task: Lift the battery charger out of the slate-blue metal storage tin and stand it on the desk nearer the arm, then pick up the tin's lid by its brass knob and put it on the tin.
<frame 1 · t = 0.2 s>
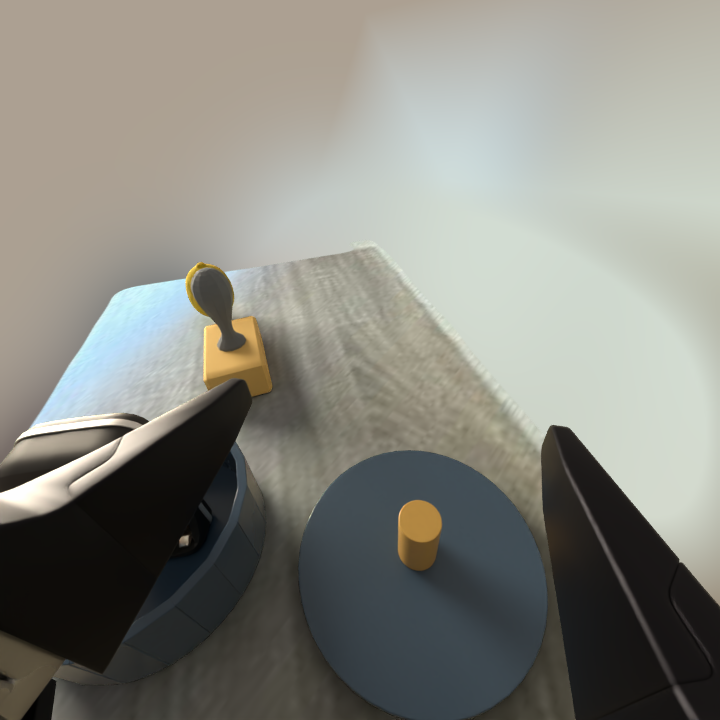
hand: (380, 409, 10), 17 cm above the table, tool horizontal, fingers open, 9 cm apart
lemon: (221, 319, 47), on the table
rubber stamp: (242, 370, 38), on the table
tin: (163, 546, 24), on the table
battery charger: (162, 545, 24), resting on tin
tin lid: (416, 553, 22), point 1 cm above the table
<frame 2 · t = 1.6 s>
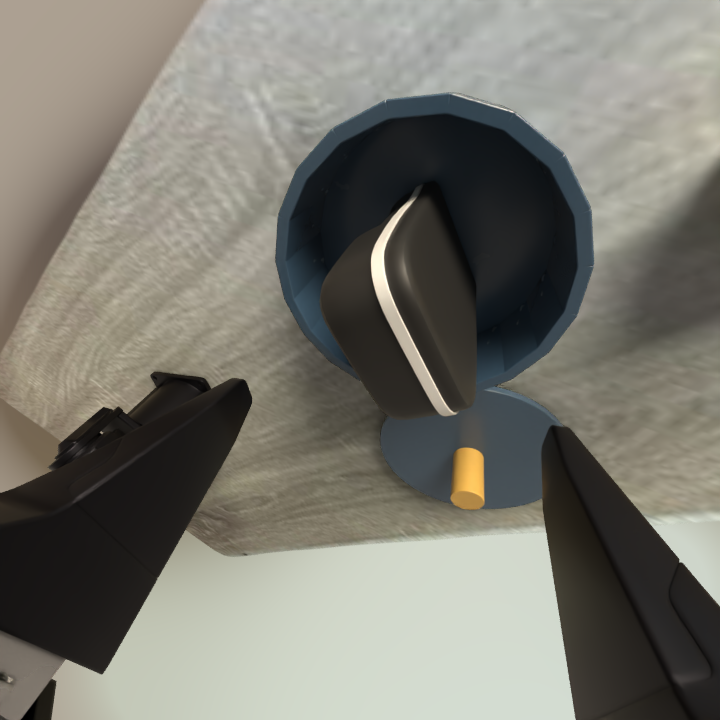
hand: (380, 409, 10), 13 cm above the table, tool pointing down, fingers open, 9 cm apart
tin: (427, 247, 20), on the table
battery charger: (427, 247, 20), resting on tin
tin lid: (468, 451, 29), point 1 cm above the table
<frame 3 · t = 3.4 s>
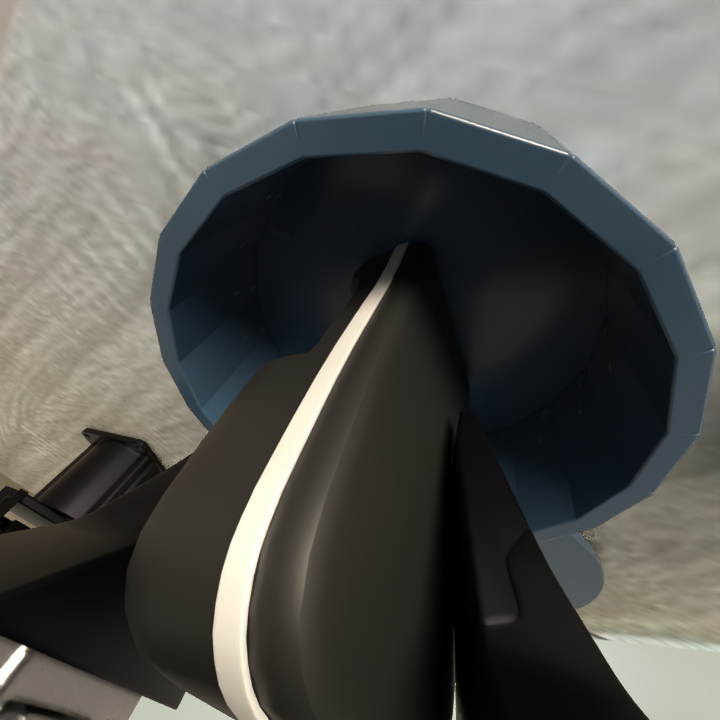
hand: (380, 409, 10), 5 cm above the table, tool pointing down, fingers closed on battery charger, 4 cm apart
tin: (409, 322, 14), on the table
battery charger: (406, 325, 14), resting on tin, touching gripper
tin lid: (465, 553, 23), point 1 cm above the table
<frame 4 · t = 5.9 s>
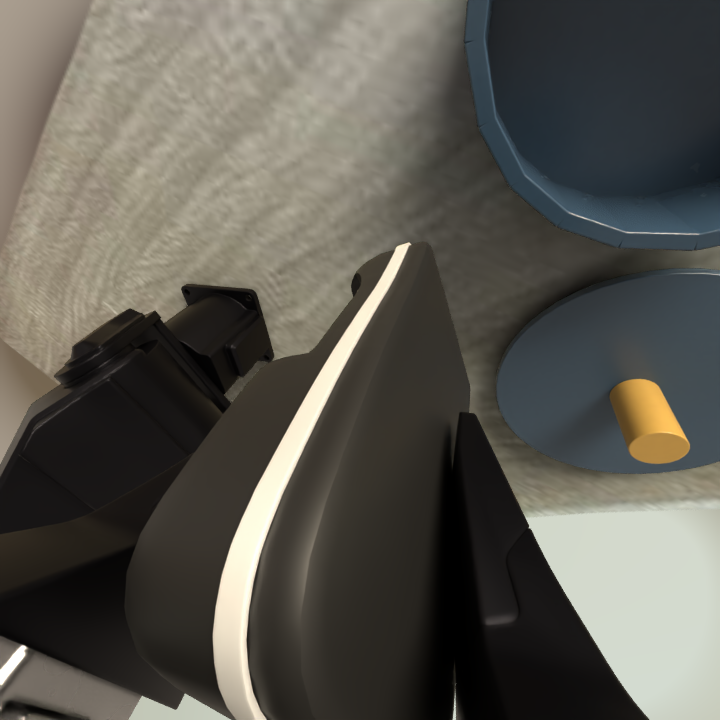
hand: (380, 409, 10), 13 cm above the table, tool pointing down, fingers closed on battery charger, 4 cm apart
battery charger: (407, 326, 14), point 8 cm above the table, touching gripper
tin lid: (631, 387, 20), point 1 cm above the table
when the fingers open (5 cm above the table, at t = 8.5 s): battery charger stays where it is, on the table.
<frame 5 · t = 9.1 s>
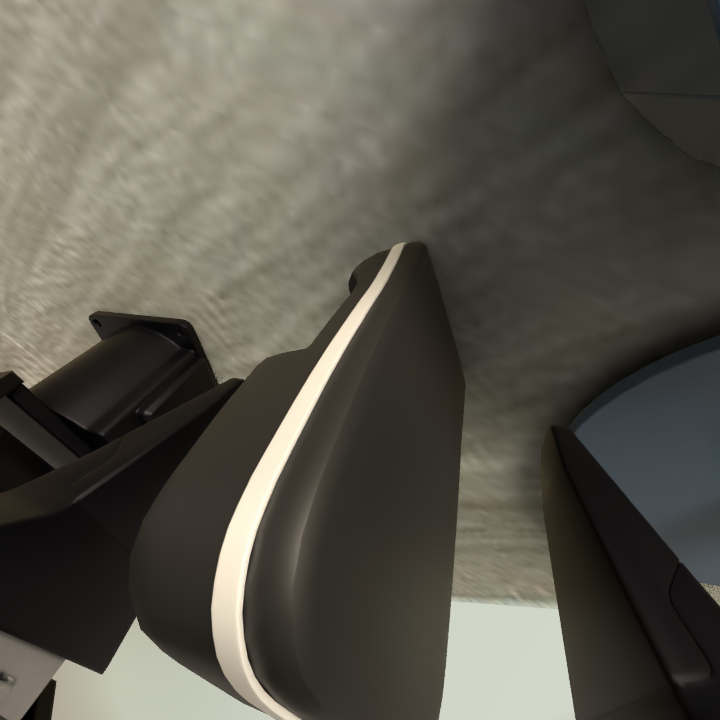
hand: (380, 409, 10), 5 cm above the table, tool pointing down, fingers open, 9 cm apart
battery charger: (403, 323, 14), on the table
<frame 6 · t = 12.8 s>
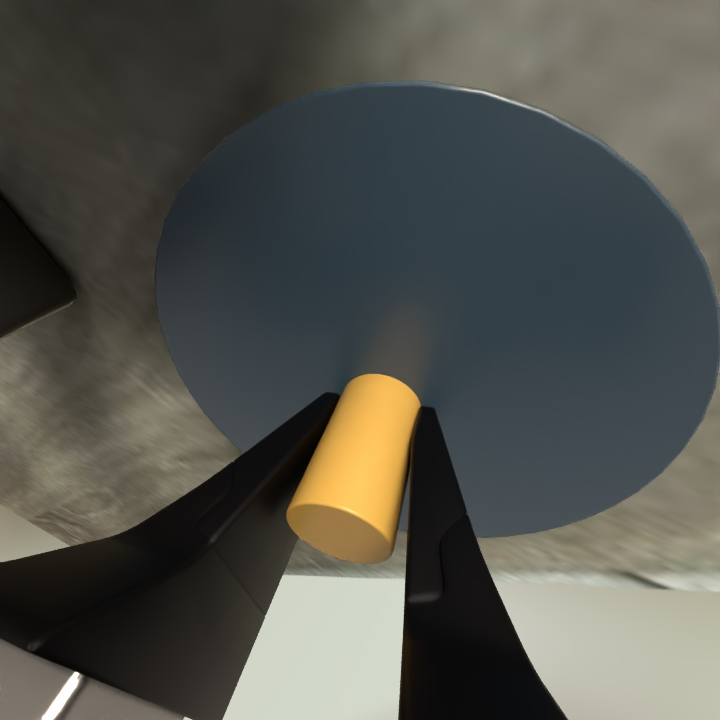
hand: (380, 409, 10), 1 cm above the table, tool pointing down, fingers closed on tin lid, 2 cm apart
tin lid: (385, 390, 11), point 1 cm above the table, touching gripper
when the fingers open (6 cm above the table, at t = 17.9 s): tin lid stays where it is, resting on tin.
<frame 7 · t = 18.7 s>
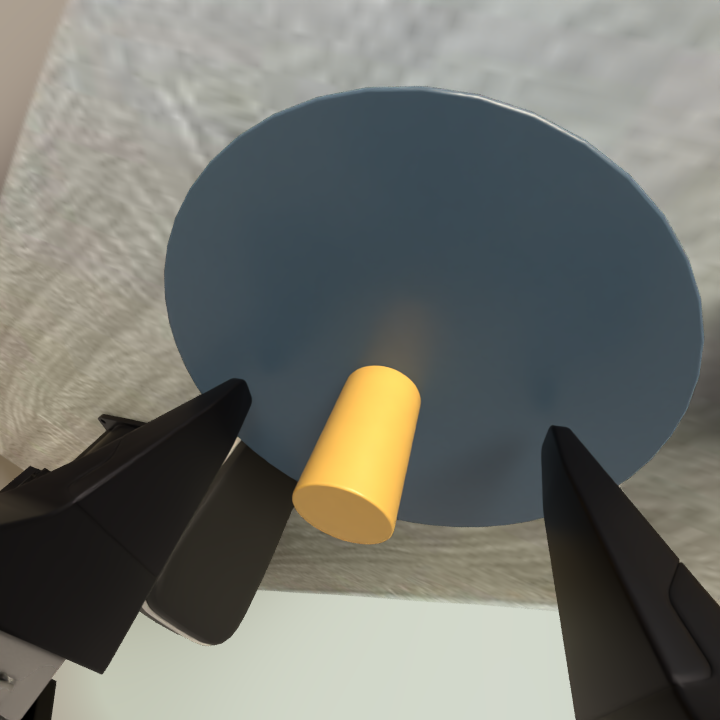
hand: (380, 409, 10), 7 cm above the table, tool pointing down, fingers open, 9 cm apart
battery charger: (273, 439, 25), on the table
tin lid: (386, 382, 11), point 5 cm above the table, touching tin
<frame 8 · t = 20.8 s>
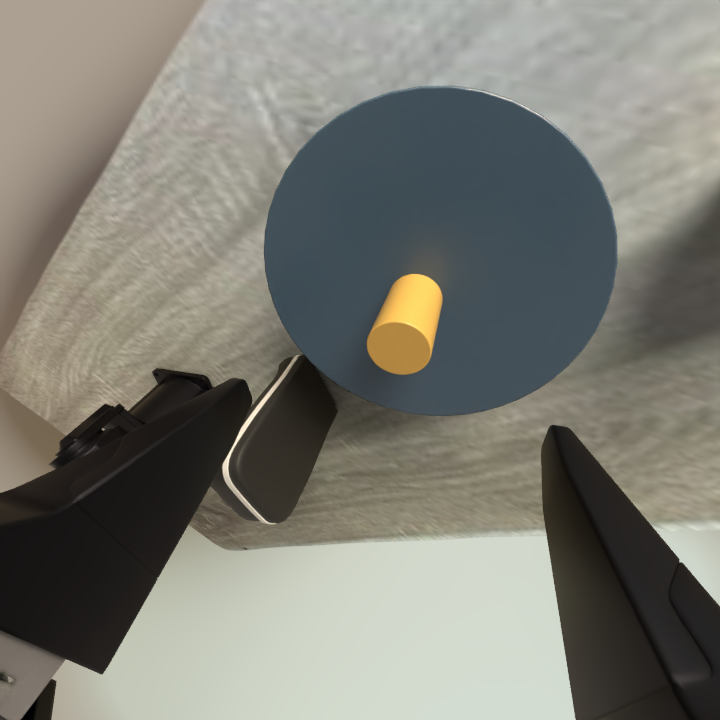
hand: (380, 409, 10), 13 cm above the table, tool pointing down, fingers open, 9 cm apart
battery charger: (308, 382, 30), on the table
tin lid: (417, 292, 16), point 5 cm above the table, touching tin
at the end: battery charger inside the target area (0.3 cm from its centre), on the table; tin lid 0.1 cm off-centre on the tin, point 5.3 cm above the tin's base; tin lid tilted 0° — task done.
